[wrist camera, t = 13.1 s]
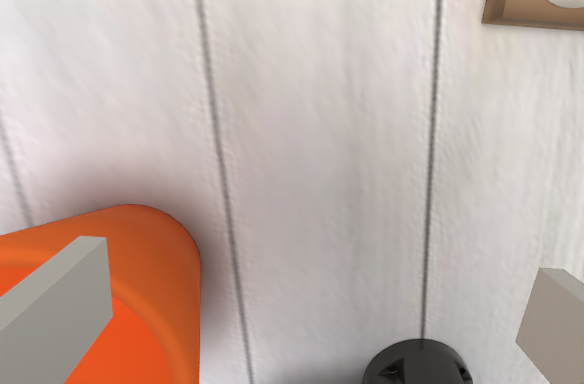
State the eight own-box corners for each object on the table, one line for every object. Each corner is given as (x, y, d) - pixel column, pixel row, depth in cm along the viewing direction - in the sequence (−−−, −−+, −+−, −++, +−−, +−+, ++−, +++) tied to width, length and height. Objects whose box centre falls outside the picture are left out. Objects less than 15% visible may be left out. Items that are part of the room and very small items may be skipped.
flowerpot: (104, 363, 52) (0, 525, 34) (-1, 212, 45) (-207, 310, 26) (265, 308, 50) (249, 451, 31) (181, 137, 43) (94, 188, 24)
